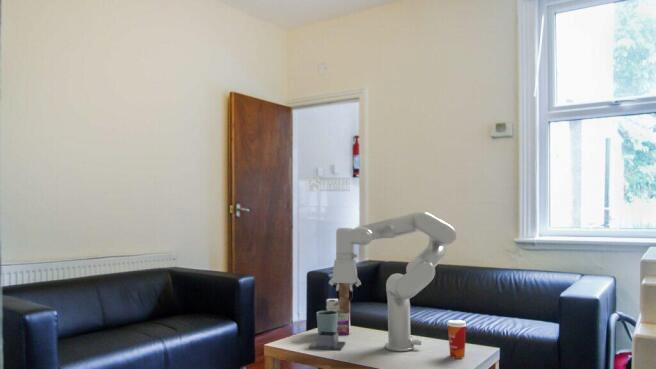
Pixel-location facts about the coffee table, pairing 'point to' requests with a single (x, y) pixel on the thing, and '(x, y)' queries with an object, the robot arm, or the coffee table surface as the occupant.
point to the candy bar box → (339, 317)
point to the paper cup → (457, 338)
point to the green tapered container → (327, 321)
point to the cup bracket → (327, 341)
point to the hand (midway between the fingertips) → (344, 299)
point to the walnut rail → (344, 298)
